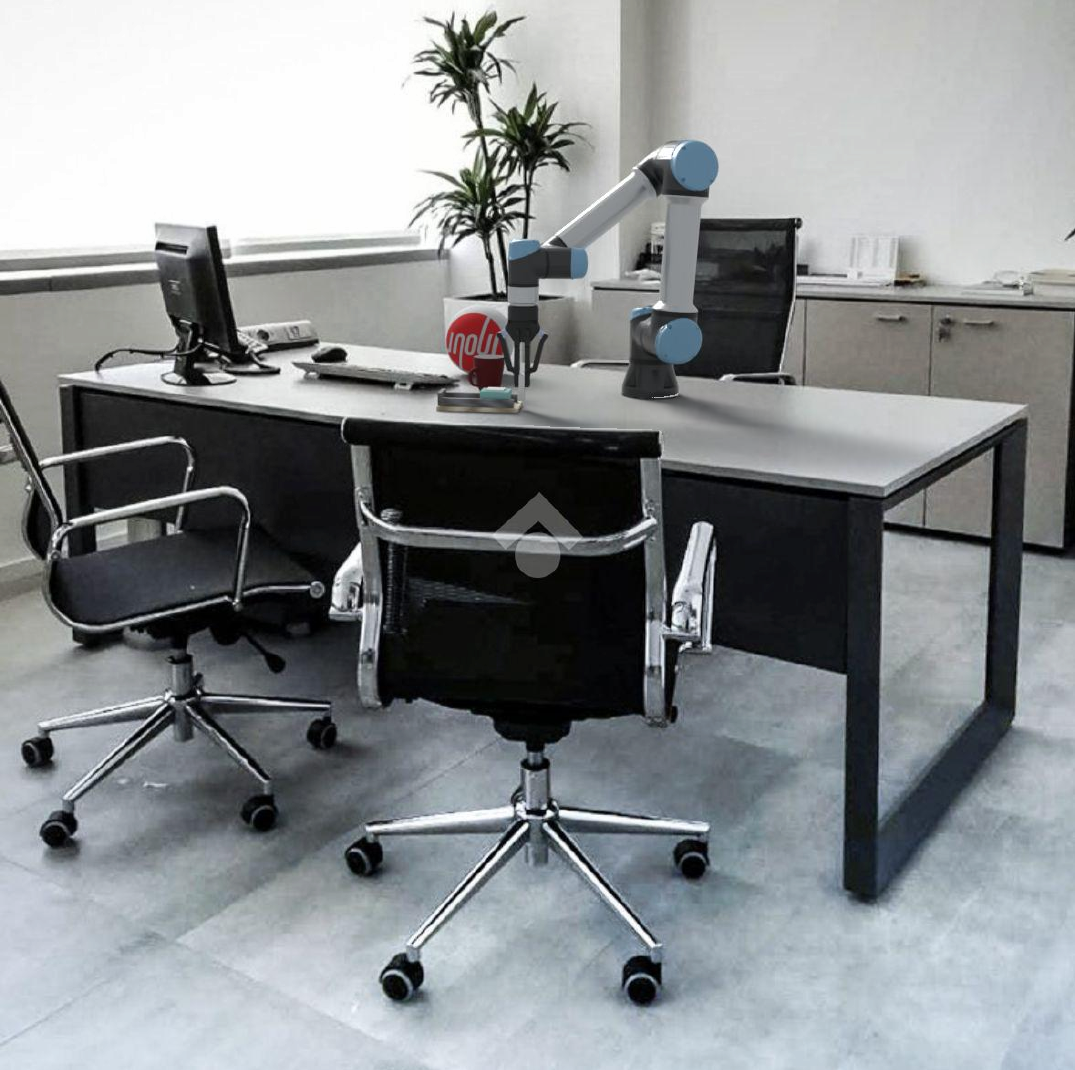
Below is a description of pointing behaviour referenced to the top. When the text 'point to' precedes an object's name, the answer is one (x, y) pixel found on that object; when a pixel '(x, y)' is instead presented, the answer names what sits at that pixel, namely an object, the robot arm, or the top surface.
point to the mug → (487, 371)
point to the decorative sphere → (475, 335)
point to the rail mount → (475, 403)
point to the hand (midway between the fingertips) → (521, 400)
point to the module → (496, 393)
